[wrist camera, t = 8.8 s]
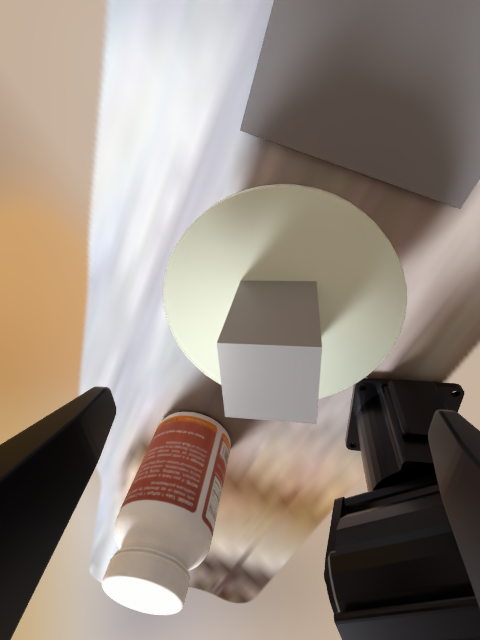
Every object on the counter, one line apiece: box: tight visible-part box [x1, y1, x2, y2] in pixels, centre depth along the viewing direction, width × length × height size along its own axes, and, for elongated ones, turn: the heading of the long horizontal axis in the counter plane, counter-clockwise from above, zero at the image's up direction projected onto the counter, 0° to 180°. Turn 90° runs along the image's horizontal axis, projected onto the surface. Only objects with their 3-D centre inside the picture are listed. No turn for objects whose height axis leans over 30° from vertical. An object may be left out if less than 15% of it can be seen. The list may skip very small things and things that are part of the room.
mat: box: [240, 0, 480, 209], centre depth 13 cm, size 11×11×1 cm
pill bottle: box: [102, 412, 231, 615], centre depth 23 cm, size 6×6×11 cm
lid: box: [163, 184, 407, 424], centre depth 13 cm, size 10×10×5 cm
